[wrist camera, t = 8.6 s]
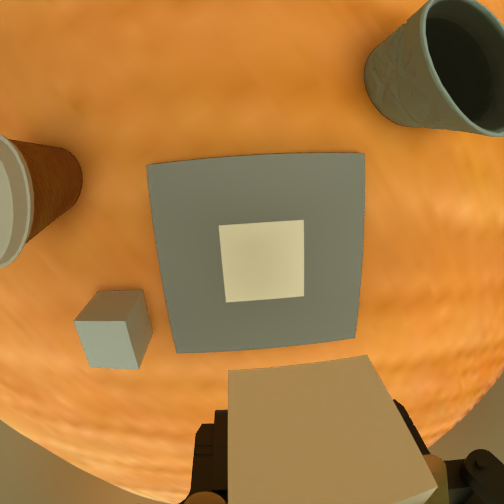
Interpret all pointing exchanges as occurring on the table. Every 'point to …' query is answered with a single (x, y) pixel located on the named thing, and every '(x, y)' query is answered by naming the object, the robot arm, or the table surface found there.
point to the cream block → (320, 438)
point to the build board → (259, 248)
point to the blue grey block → (115, 329)
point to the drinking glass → (442, 70)
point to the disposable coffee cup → (33, 191)
